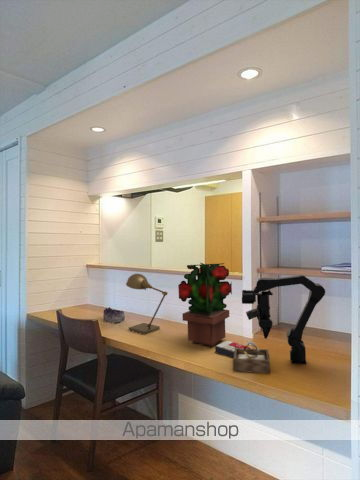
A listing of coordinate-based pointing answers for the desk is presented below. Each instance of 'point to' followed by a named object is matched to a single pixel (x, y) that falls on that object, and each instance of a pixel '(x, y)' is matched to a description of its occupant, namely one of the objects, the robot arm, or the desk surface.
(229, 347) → the calculator
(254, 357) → the ring
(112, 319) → the geode
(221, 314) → the potted plant
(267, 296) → the robot arm
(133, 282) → the lamp
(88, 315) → the desk surface
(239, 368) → the base
